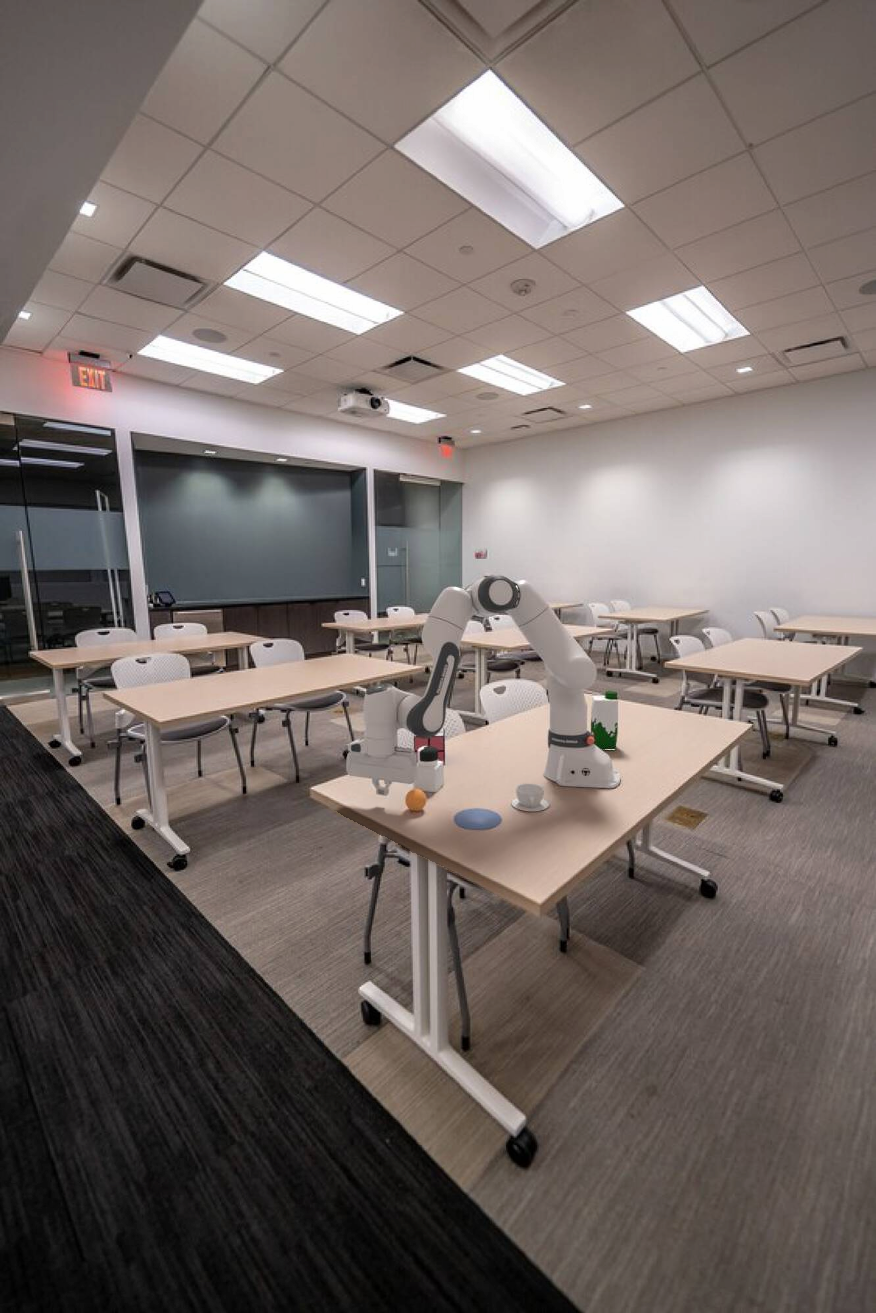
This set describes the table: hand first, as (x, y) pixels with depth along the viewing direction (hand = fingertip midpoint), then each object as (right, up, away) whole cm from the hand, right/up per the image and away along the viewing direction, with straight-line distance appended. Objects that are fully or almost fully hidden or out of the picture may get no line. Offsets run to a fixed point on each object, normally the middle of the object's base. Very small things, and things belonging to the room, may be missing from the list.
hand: (382, 794), depth 148 cm
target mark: (+25, -4, -9) cm, 27 cm away
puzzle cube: (+12, +2, +36) cm, 38 cm away
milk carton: (+74, +5, +46) cm, 87 cm away
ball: (+9, -1, -4) cm, 10 cm away
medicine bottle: (+12, -1, +13) cm, 18 cm away
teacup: (+40, -3, -1) cm, 40 cm away
